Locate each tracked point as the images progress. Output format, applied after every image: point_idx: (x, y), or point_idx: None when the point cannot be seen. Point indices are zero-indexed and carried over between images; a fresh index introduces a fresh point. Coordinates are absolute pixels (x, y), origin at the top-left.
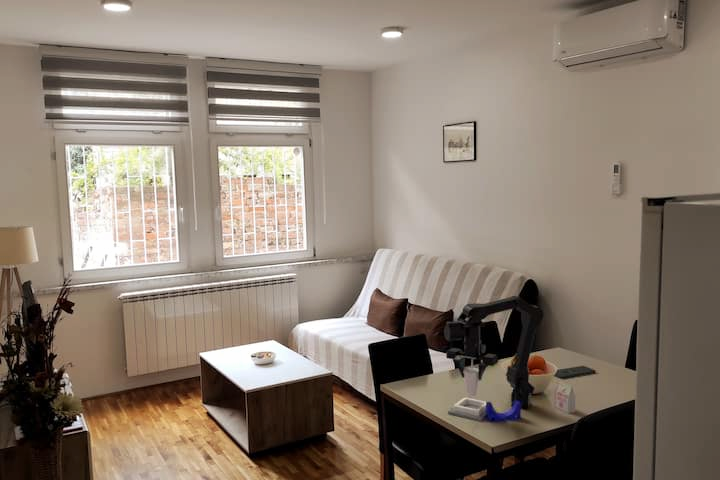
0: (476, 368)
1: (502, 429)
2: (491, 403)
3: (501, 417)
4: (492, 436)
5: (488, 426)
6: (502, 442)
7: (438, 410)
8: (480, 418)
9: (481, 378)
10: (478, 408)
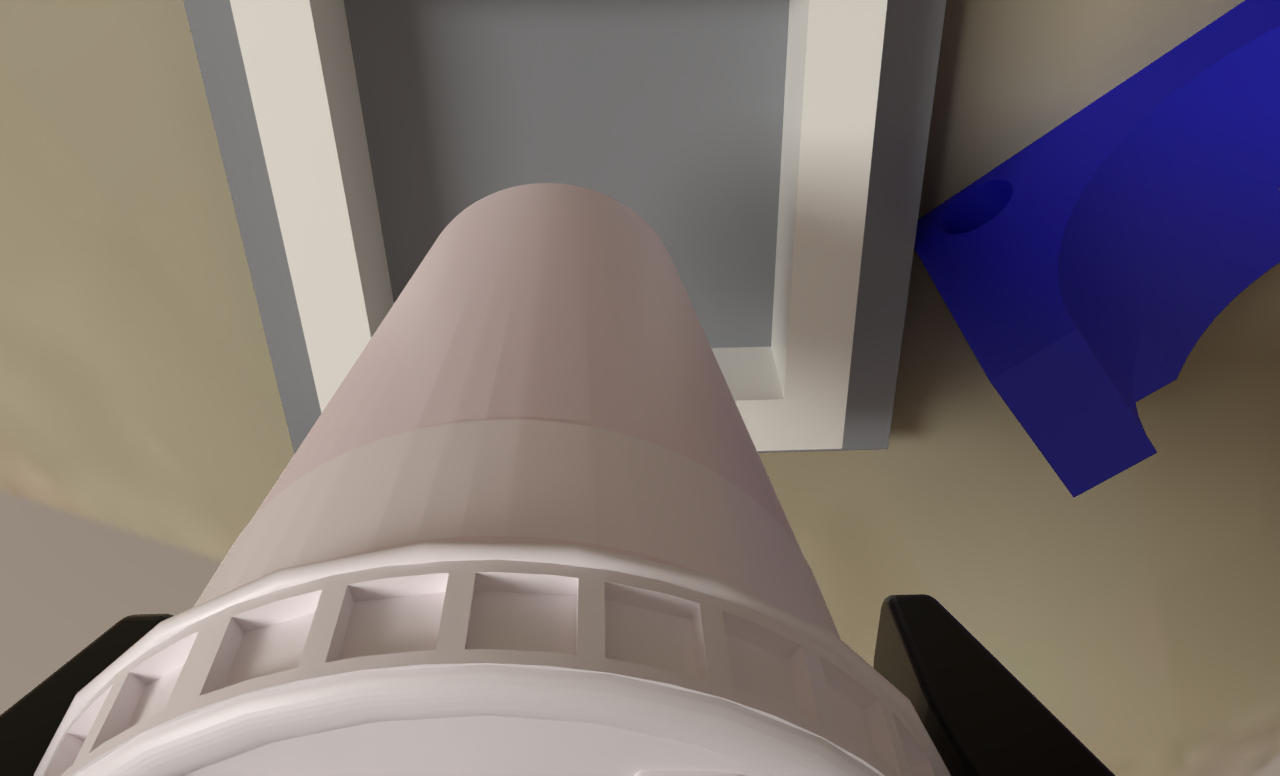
0: (576, 710)
1: (1239, 492)
2: (1122, 398)
3: (1234, 297)
4: (1132, 699)
5: (1027, 505)
6: (1265, 755)
7: (97, 405)
8: (877, 443)
9: (966, 647)
10: (795, 347)
